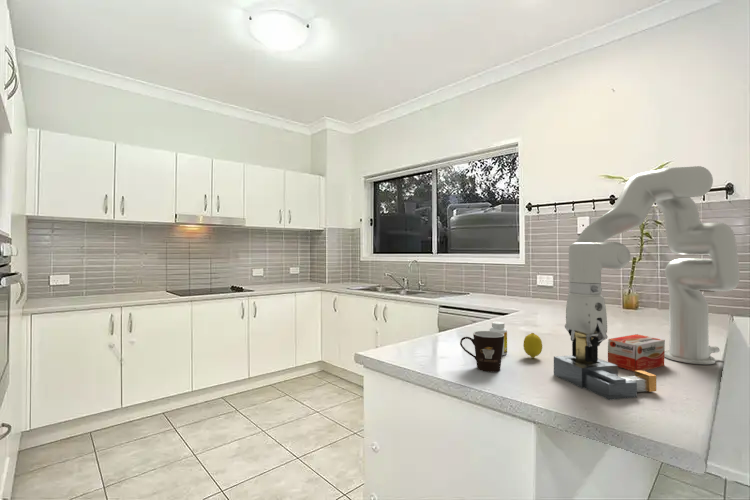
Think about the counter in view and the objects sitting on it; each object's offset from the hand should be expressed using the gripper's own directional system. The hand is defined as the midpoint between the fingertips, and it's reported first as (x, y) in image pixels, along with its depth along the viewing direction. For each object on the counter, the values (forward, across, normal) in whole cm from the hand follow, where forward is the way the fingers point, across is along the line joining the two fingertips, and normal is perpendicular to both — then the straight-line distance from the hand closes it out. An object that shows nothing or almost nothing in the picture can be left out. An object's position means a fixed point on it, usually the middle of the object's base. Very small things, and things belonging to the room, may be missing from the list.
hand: (584, 358), depth 101 cm
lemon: (+6, +21, +1) cm, 22 cm away
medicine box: (+6, +8, -24) cm, 27 cm away
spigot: (+3, 0, 0) cm, 3 cm away
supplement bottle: (+6, +28, +9) cm, 30 cm away
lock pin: (+5, -9, -6) cm, 12 cm away
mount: (+6, -3, 0) cm, 6 cm away
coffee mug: (+6, +15, +21) cm, 27 cm away
